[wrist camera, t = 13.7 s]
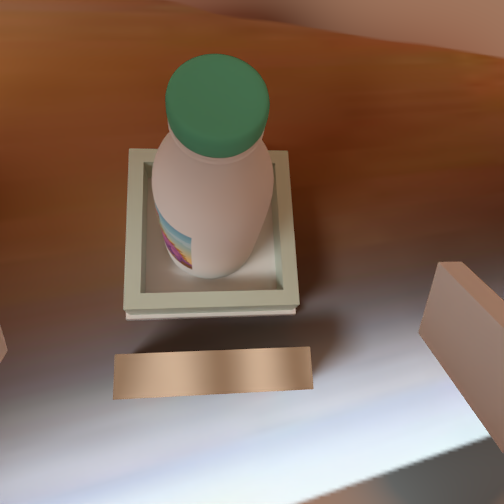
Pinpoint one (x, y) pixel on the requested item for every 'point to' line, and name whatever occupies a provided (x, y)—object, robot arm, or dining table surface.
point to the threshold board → (211, 372)
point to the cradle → (199, 289)
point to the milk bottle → (213, 165)
